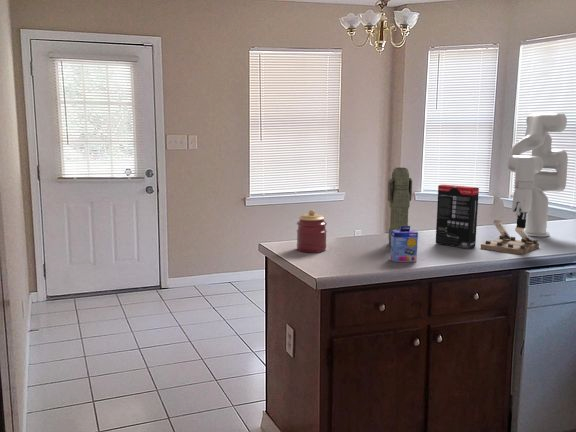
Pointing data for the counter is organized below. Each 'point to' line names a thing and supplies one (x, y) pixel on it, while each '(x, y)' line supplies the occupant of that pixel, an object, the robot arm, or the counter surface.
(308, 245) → the canister
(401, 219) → the green statue
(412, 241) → the ink cartridge box
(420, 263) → the counter surface
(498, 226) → the strap
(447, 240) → the graphics card box
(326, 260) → the counter surface
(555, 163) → the robot arm
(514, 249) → the latch board
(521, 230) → the strap
